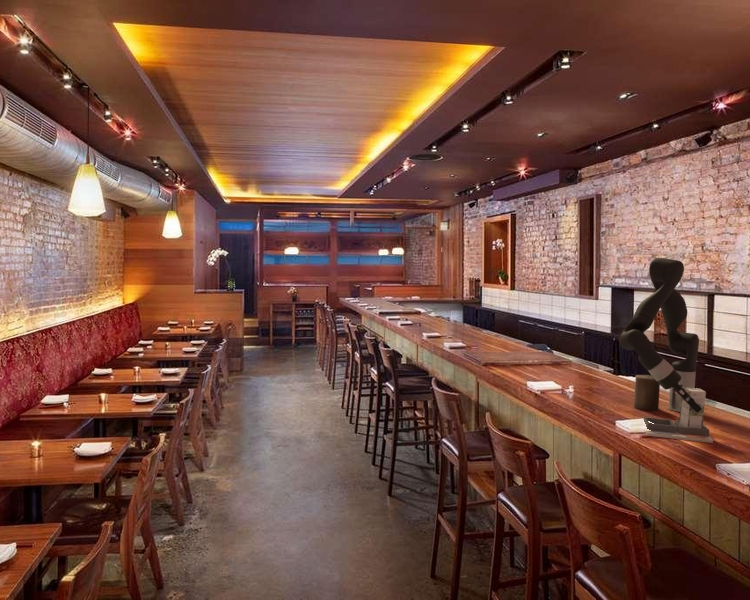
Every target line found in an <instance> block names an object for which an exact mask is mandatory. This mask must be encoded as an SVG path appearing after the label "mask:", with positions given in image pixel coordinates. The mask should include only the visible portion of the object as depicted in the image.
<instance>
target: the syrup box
mask: <svg viewBox="0 0 750 600" xmlns="http://www.w3.org/2000/svg"><path fill="white" fill-rule="evenodd" d="M686 390H687V391H688V392H689V393H690V396H691V397H692V398H693V399H694V401H695V402H696V403H697V404H698V405H699V406H700V407H701V408H702V410H701V411H699V412H698V413H697V412H696V411H695V410H694V409H693V408H692V407H691V406H690V405H689V404H687V402H686V401H683V400H682V399H681V406H680V412H679V418H678V421H679V424H680V425H681V427H690V428H700V429H702V427H703V424H704V416H705V415H704V414H705V404H706V396H707V392H706V391H705V390H703V389H701V388H699V387H698V388H697V387H696V388H686ZM690 399H691V398H690V397H688V398H687V399H686V400H687V401H689V400H690Z"/></svg>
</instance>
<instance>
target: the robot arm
mask: <svg viewBox="0 0 750 600" xmlns="http://www.w3.org/2000/svg"><path fill="white" fill-rule="evenodd" d="M648 272H649V277H650V280H651V282H652V284H653V285H652V286H653V288H654V290H655V292H653V293H651V294H650V295H649V296H647V297H646V298H645V299H643V300H642V301H641V302H640V303H639V305H638V306H637V308H636V310H635V312H634V314H633V316H632V318H631V320H630V321H629V323H628V324H627V325H626V326H625V327H624V329H623V330H622V333H621V334H620V335H619V336H620V337H619V339H618V340H619V341H618V342H619V345H620V347H621V348H622V349H623V350H626V351H635V352H636V354H637V355H638V357H637V359H638V362H639V363H640V364H641V365H642V366H643V368H645V369H646V371H648V372H649V373H648V374H650V376H652V377H653V378H654V379H655V380H656V381H657V382H658V383H659V384H660V386H661V387H662V388H663V389H664V390H669V395H668V397H669V398H668V409H669V410H670V411H674V412H678V413H680V406H681V399H682V400H683V401H686V402H687V404H689V405H690V406H691V407H692V408H693V409H694V410H695V411H696V412H697V413H698V412H699V411H701V410H702V408H701V407H700V406H699V405H698V404H697V403H696V402H695V401H694V399H693V398H692V397H691V396H690V393H689V392H688V391H687V390H686V388H695V386H696V375H697V373H696V371H697V361H698V354H699V345H700V338H699V335H698V334H696V333H693V332H692V333H691V332H681V331H680V330H679V331H678V329H679V327H680V326H681V325H682V324H683V323H684V322H685V320H686V319H687V318H688V317H687V316H688V307H687V303H686V300H685V298H684V297H683V296H682V295H681V293H680V292H679V291H678V290H677V289H676V287H677V286H678V285H679V283H680V282H681V280H682V278H683V276H684V272H685V266H684V263H683V262H682V261H681V260H678V259H673V258H671V259H670V258H665V257H656V258H653V259H652V260H651V261H650V264H649V267H648ZM659 311H661V314H662V318H663V320H664V325H665V328H666V329H665V330H666V334H667V343H668V347H669V350H670V351H671V353H674V354H681V355H686V358H685V359H682V360H676V361H672V363H671V364H670V363H669V362H668V361H667V360H666V359H665V358H664V357H663V356H662V355H661V354H660V352H658V351H657V350H656V349H655V348H654V346H653V344H652V342H651V340H650V339H649V338H648V336H647V335H646V333H645V332H646V331H647V330H648V329H650V327H652V325H653V322H654V321H655V319H656V316H657V315H658V313H659ZM688 397H690V398H691V399H690V400H689V401H687V400H686V399H687V398H688Z"/></svg>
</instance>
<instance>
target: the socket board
mask: <svg viewBox="0 0 750 600" xmlns="http://www.w3.org/2000/svg"><path fill="white" fill-rule="evenodd" d="M643 420H644V422H645V424H646V427H647V429H649V430H651V431H646V433H645V435H646V436H648V437H657V438H666V439H675V440H681V441H682V440H683V441H684V440H685V441H691V442H701V443H709V444H710V443H711V444H714V439H713V438H712V437H711V436H710V429H709V427H707V426H706V424H705V423H703V427H702V429H700V428H690V427H681V425H680V424H679V419H678V420H675V419H674V420H672V419H667V418H658V417H649V416H648V417H646V416H644V417H643V419H642V421H643ZM648 421H650V422H652V423H654V424H652V423H649V422H648Z"/></svg>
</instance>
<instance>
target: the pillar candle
mask: <svg viewBox="0 0 750 600" xmlns="http://www.w3.org/2000/svg"><path fill="white" fill-rule="evenodd" d="M649 374H650V373H647V374H637V375H635V383H634V395H633V396H634V399H633V407H635V409H637V410H641V411H646V412H647V411H648V412H657V410H658V411H659V403H660V390H661V389H660V388H661V387H660V386H661V385H660V384H659V383H658V382H657V381H656V380H655V379H654V378H653V377H652V375H651V374H650V375H649Z"/></svg>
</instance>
